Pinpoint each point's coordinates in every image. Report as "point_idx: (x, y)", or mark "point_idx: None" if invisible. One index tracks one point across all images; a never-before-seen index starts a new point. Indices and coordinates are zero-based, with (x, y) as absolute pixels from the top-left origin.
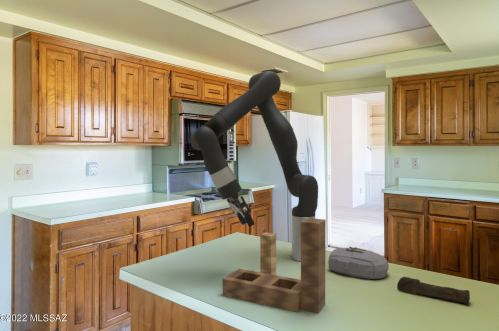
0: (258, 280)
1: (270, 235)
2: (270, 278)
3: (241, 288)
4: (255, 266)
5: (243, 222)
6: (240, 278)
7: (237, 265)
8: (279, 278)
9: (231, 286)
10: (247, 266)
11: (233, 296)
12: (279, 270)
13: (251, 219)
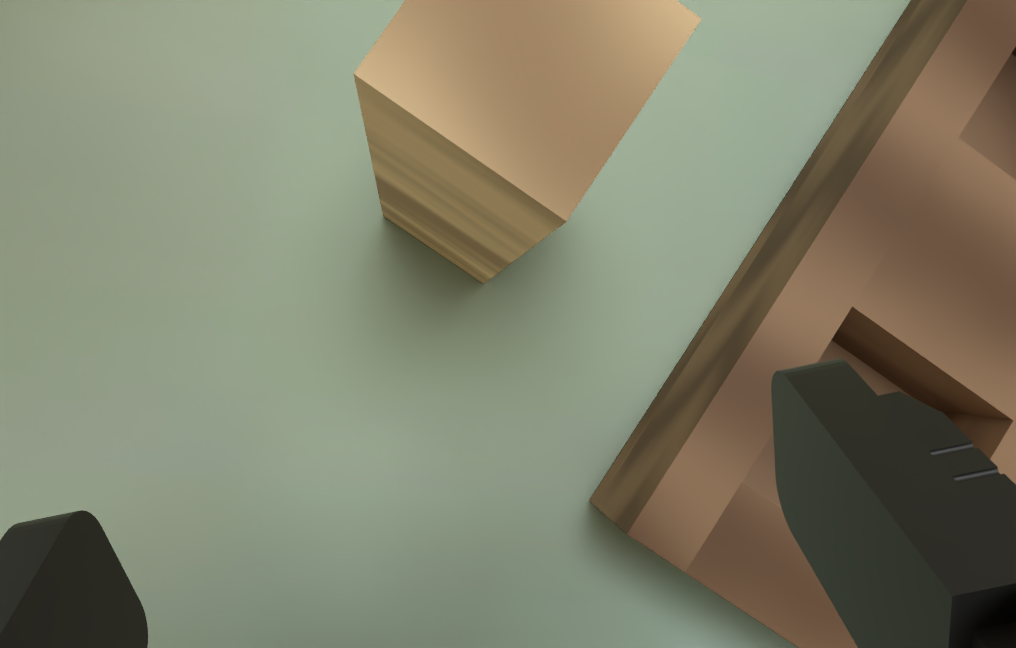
0: (989, 354)
1: (640, 18)
2: (951, 226)
3: None
4: (73, 289)
5: (109, 627)
6: None
7: (8, 500)
8: (957, 136)
9: None
10: (62, 383)
11: None
12: (246, 41)
13: (995, 477)
